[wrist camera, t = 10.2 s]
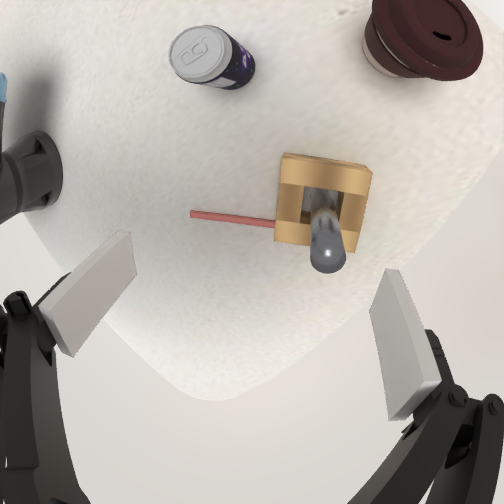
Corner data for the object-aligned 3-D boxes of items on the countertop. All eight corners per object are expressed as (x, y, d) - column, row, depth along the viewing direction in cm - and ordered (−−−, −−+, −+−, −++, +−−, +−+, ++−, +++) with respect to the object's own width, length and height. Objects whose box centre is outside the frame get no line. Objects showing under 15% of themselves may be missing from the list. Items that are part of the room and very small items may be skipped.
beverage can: (265, 75, 28) (242, 58, 17) (224, 98, 30) (183, 95, 20) (241, 40, 26) (208, 10, 15) (202, 63, 28) (153, 47, 18)
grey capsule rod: (308, 206, 35) (307, 270, 22) (311, 185, 33) (313, 239, 21) (330, 210, 34) (341, 275, 22) (333, 189, 33) (349, 245, 20)
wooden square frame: (277, 227, 37) (273, 240, 34) (284, 152, 32) (281, 158, 29) (350, 238, 36) (354, 252, 32) (365, 165, 31) (372, 172, 27)
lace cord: (191, 215, 39) (190, 217, 38) (191, 210, 38) (190, 212, 38) (277, 226, 37) (276, 228, 36) (277, 221, 37) (277, 223, 36)
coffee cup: (373, 2, 20) (409, -52, 7) (438, 51, 21) (506, 31, 8) (335, 54, 25) (356, 15, 12) (404, 103, 26) (466, 106, 13)
